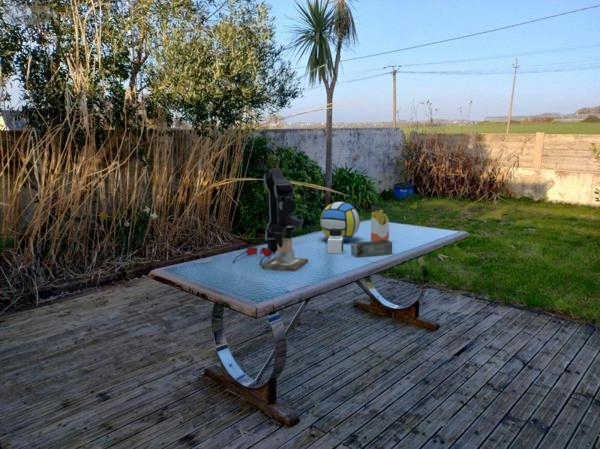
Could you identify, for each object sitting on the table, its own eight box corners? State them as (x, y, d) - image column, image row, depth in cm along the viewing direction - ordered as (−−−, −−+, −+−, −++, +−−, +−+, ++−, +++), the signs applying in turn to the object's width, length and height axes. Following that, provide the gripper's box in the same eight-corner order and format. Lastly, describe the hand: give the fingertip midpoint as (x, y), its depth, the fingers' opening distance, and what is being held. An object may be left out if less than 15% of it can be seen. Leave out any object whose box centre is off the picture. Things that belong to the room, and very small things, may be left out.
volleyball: (365, 238, 243) (366, 200, 240) (348, 246, 225) (348, 205, 222) (332, 235, 255) (331, 199, 251) (313, 242, 237) (312, 203, 233)
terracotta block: (277, 251, 189) (277, 240, 188) (281, 249, 193) (281, 238, 192) (288, 252, 187) (287, 241, 186) (292, 249, 191) (291, 238, 191)
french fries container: (389, 242, 233) (389, 210, 229) (377, 245, 225) (378, 212, 222) (382, 241, 236) (382, 209, 233) (370, 244, 228) (370, 211, 225)
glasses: (273, 257, 207) (272, 247, 206) (260, 266, 192) (259, 255, 191) (246, 256, 211) (246, 246, 210) (232, 264, 196) (231, 254, 195)
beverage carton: (350, 254, 209) (350, 241, 208) (385, 251, 214) (386, 238, 213) (356, 258, 202) (356, 244, 201) (393, 254, 207) (393, 241, 205)
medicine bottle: (341, 253, 209) (341, 230, 207) (327, 253, 211) (327, 229, 209) (343, 250, 216) (343, 227, 214) (329, 250, 218) (329, 227, 216)
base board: (261, 268, 187) (260, 253, 185) (276, 259, 201) (275, 245, 200) (295, 271, 181) (295, 255, 180) (308, 261, 196) (307, 247, 195)
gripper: (293, 214, 176) (294, 251, 178) (308, 208, 193) (308, 241, 195) (268, 213, 179) (269, 249, 182) (285, 207, 197) (286, 240, 199)
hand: (284, 245), depth 190 cm, fingers open, 9 cm apart
